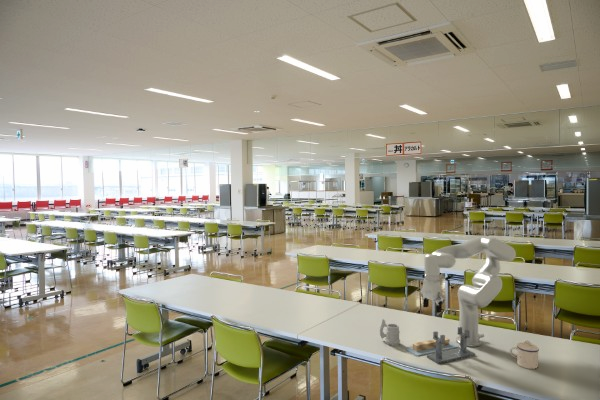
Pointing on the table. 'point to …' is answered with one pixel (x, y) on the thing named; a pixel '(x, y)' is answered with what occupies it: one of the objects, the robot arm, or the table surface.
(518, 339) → the table surface
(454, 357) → the stand
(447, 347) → the slate mat
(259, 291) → the table surface
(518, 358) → the teacup with lid
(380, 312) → the table surface
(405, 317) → the table surface
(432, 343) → the oak rail
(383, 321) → the mug
